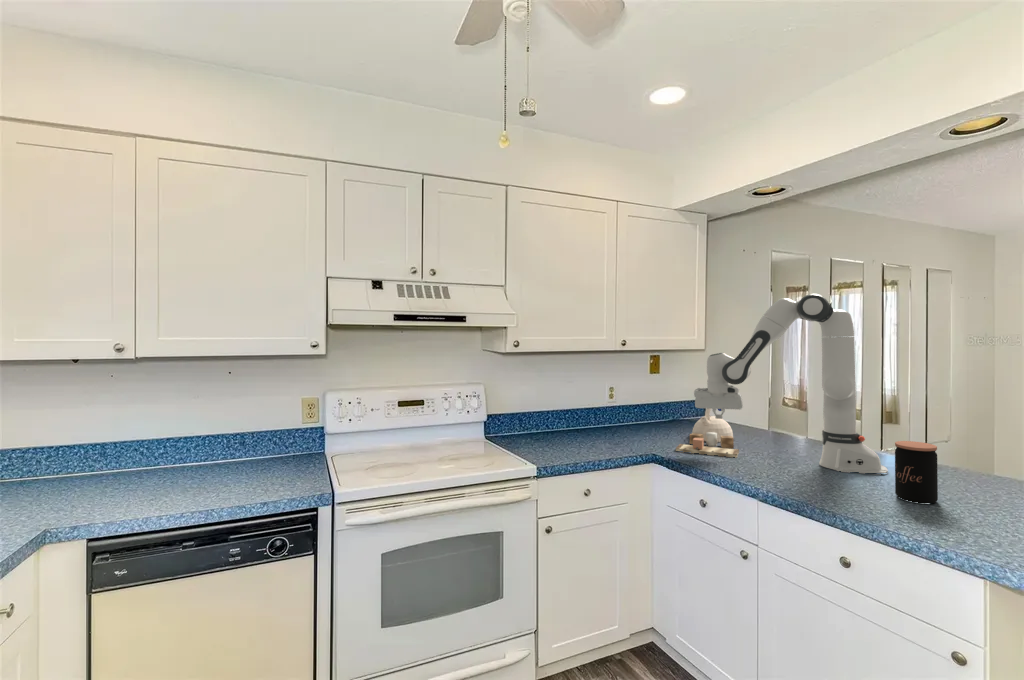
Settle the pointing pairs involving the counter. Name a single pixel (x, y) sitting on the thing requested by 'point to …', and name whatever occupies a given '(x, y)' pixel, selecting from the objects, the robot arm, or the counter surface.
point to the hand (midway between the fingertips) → (719, 418)
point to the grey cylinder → (711, 439)
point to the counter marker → (698, 443)
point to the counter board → (709, 450)
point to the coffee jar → (916, 471)
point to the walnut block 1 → (695, 435)
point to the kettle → (712, 426)
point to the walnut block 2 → (727, 442)
